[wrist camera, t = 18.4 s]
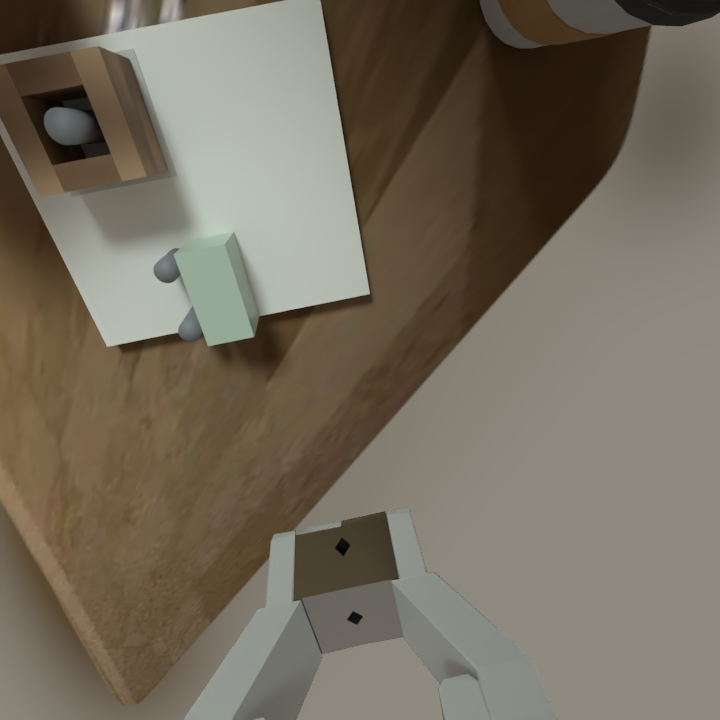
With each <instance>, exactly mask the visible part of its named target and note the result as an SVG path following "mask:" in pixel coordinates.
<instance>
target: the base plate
mask: <svg viewBox="0 0 720 720" xmlns="http://www.w3.org/2000/svg"><path fill="white" fill-rule="evenodd" d="M96 46H99V47H101V48H104V49H106V50H109V51H111V52H114V53H116V54H119V55H121V56H124V57H126V58H129V59H130V62H131V65H132V68H133V71H134V73H135V76H136V79H137V82H138V85H139V88H140V91H141V93H142V96H143V99H144V102H145V105H146V108H147V110H148V113H149V116H150V119H151V122H152V125H153V128H154V130H155V133H156V136H157V139H158V142H159V145H160V147H161V150H162V153H163V156H164V159H165V162H166V165H167V167H168V170H167V171H164V172H161V173H157V174H154V175H150V176H147V177H142V178H136V179H131V180H126V181H121V182H116V183H111V184H106V185H100V186H95V187H90V188H85V189H80V190H75V191H70V192H65V193H59V194H54V195H49V196H44V197H39V195H38V193H37V191H36V189H35V187H34V185H33V183H32V181H31V179H30V177H29V175H28V173H27V171H26V169H25V166H24V164H23V162H22V160H21V158H20V156H19V154H18V152H17V150H16V148H15V146H14V144H13V142H12V140H11V138H10V136H9V134H8V132H7V130H6V128H5V126H4V124H3V122H2V120H1V118H0V135H1V137H2V139H3V141H4V143H5V145H6V147H7V149H8V151H9V153H10V155H11V157H12V159H13V161H14V163H15V165H16V167H17V169H18V171H19V173H20V175H21V177H22V179H23V181H24V183H25V185H26V187H27V189H28V191H29V193H30V195H31V197H32V199H33V201H34V203H35V205H36V207H37V209H38V211H39V213H40V215H41V217H42V219H43V221H44V223H45V225H46V227H47V228H48V230H49V232H50V234H51V236H52V238H53V240H54V242H55V244H56V246H57V248H58V250H59V252H60V254H61V256H62V258H63V260H64V262H65V264H66V266H67V268H68V270H69V272H70V274H71V276H72V278H73V280H74V282H75V284H76V286H77V288H78V290H79V292H80V294H81V296H82V298H83V300H84V302H85V304H86V306H87V308H88V310H89V312H90V314H91V316H92V318H93V319H94V321H95V323H96V325H97V327H98V329H99V331H100V333H101V335H102V337H103V339H104V341H105V343H106V345H107V347H109V346H114V345H119V344H124V343H129V342H134V341H139V340H144V339H149V338H154V337H159V336H164V335H168V334H173V333H179V335H180V337H181V338H182V339H184V340H185V341H189V342H193V341H196V340H198V339H199V338H200V336H201V334H202V332H203V331H202V329H201V326H200V323H199V321H198V318H197V316H196V313H195V310H194V308H193V305H192V302H191V300H190V297H189V295H188V292H187V289H186V287H185V284H184V281H183V279H182V276H181V273H180V271H179V268H178V266H177V263H176V260H175V258H174V255H173V254H174V253H175V252H177V251H178V250H179V249H180V248H181V247H182V246H183V245H184V244H185V243H186V242H187V241H190V240H195V239H200V238H205V237H210V236H215V235H220V234H225V233H230V232H234V235H235V238H236V241H237V244H238V248H239V251H240V254H241V257H242V261H243V264H244V267H245V271H246V274H247V277H248V280H249V284H250V287H251V290H252V294H253V297H254V300H255V303H256V307H257V310H258V313H259V316H263V315H268V314H273V313H278V312H283V311H288V310H293V309H298V308H303V307H308V306H313V305H318V304H323V303H328V302H333V301H338V300H343V299H348V298H353V297H358V296H363V295H368V294H370V292H369V286H368V280H367V274H366V268H365V262H364V256H363V250H362V244H361V238H360V232H359V226H358V220H357V214H356V209H355V203H354V197H353V191H352V185H351V179H350V173H349V167H348V161H347V155H346V149H345V143H344V137H343V131H342V126H341V120H340V114H339V108H338V102H337V96H336V90H335V84H334V78H333V72H332V66H331V60H330V54H329V48H328V43H327V37H326V31H325V25H324V19H323V13H322V7H321V1H320V0H285V1H279V2H274V3H269V4H264V5H258V6H253V7H248V8H243V9H237V10H232V11H227V12H222V13H216V14H211V15H206V16H201V17H195V18H190V19H185V20H180V21H174V22H169V23H164V24H159V25H154V26H148V27H143V28H138V29H133V30H127V31H122V32H117V33H112V34H106V35H101V36H96V37H91V38H85V39H80V40H75V41H70V42H64V43H59V44H54V45H49V46H43V47H38V48H33V49H28V50H23V51H17V52H12V53H7V54H2V55H0V65H1V64H6V63H12V62H17V61H22V60H27V59H33V58H38V57H43V56H48V55H54V54H59V53H64V52H69V51H75V50H80V49H85V48H90V47H96ZM62 103H63V105H64V107H65V108H61V107H54V108H51V109H49V110H48V111H47V112H46V114H45V116H44V126H45V129H46V131H47V133H48V134H49V135H50V137H51V138H52V139H54V140H55V141H56V142H58V143H60V144H63V145H78V144H80V145H81V147H82V149H83V152H84V154H85V156H86V159H88V158H93V157H98V156H103V155H108V154H111V152H110V150H109V147H108V145H107V142H106V140H105V138H104V135H103V133H102V130H101V128H100V125H99V123H98V120H97V118H96V115H95V113H94V110H93V108H92V105H91V103H90V100H89V98H88V97H83V98H78V99H73V100H67V101H62Z"/></svg>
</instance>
